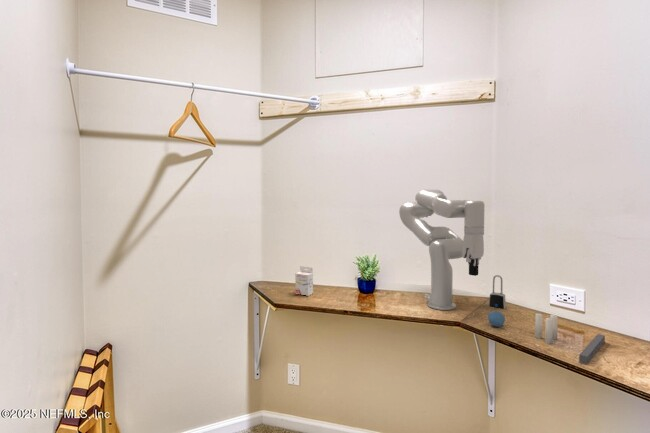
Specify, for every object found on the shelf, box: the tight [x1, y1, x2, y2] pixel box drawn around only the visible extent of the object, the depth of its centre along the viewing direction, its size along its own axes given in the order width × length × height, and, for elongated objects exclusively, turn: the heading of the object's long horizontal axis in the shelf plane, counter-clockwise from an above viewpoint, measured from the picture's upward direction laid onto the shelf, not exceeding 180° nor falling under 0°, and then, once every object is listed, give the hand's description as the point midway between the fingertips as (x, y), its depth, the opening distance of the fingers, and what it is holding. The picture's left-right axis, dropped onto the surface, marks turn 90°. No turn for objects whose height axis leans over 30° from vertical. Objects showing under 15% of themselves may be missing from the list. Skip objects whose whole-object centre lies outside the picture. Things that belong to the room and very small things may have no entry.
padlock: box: [488, 274, 507, 310], centre depth 162 cm, size 7×4×15 cm, turn 53°
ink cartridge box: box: [294, 266, 314, 295], centre depth 186 cm, size 9×5×15 cm, turn 58°
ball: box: [487, 310, 506, 328], centre depth 138 cm, size 6×6×6 cm
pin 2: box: [549, 314, 559, 341], centre depth 126 cm, size 2×2×8 cm
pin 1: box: [544, 317, 554, 345], centre depth 122 cm, size 2×2×8 cm
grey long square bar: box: [578, 333, 606, 365], centre depth 115 cm, size 2×24×2 cm, turn 131°
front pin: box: [534, 313, 544, 340], centre depth 127 cm, size 2×2×8 cm
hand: (473, 274), depth 145 cm, fingers closed
